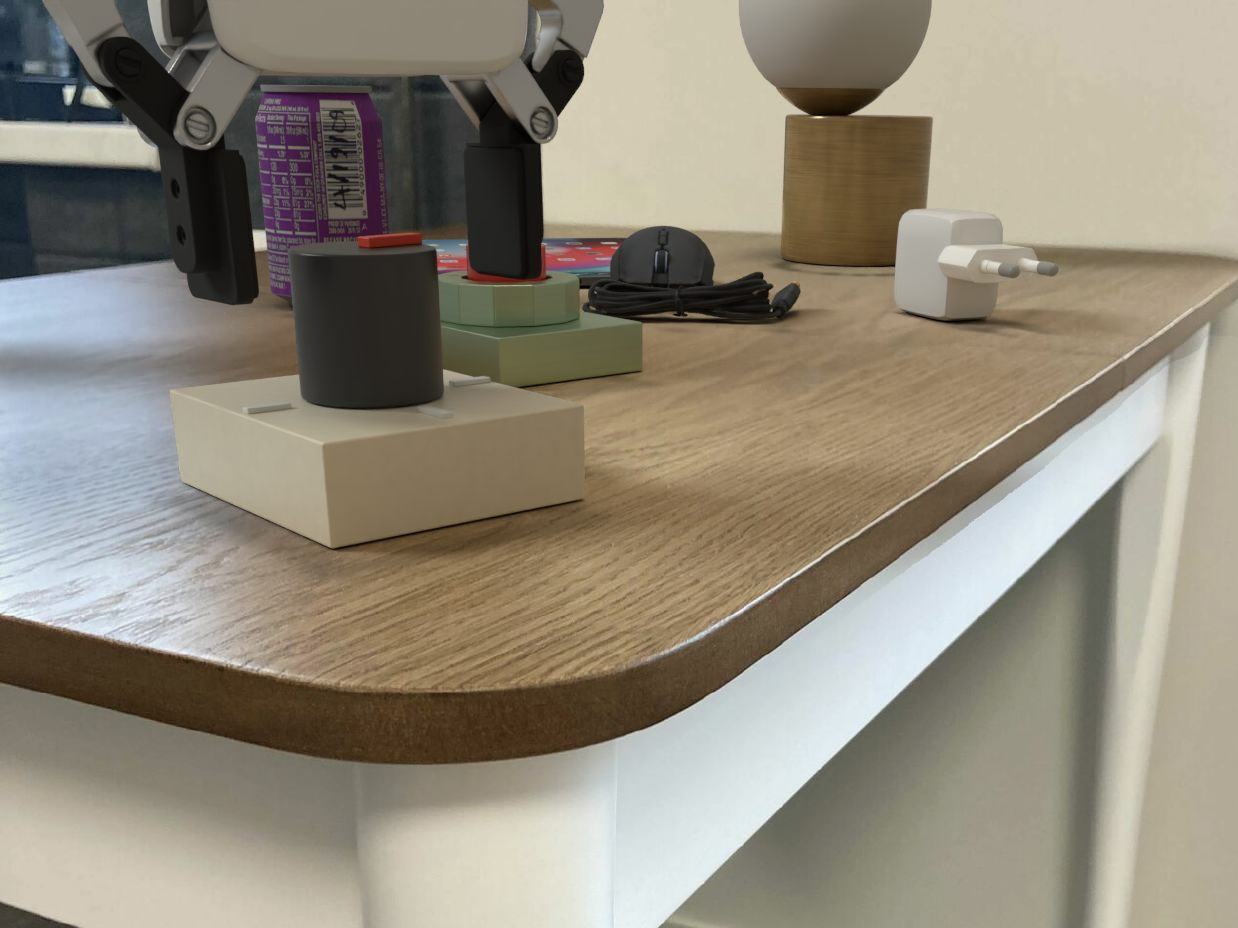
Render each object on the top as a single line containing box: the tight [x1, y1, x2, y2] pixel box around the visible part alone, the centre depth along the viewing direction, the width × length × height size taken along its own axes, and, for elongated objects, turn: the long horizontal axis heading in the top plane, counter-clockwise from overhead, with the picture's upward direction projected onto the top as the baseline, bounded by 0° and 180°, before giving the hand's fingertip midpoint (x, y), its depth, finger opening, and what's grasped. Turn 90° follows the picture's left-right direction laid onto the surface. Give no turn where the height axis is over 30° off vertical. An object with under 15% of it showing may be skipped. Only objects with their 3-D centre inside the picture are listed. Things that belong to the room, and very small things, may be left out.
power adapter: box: [893, 207, 1060, 322], centre depth 83 cm, size 11×5×6 cm, turn 25°
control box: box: [169, 369, 586, 549], centre depth 47 cm, size 10×9×3 cm
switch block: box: [438, 270, 643, 388], centre depth 69 cm, size 10×8×4 cm
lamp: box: [738, 0, 934, 267], centre depth 111 cm, size 15×14×25 cm
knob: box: [288, 232, 444, 408], centre depth 45 cm, size 4×4×5 cm
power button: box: [466, 244, 546, 282], centre depth 68 cm, size 4×4×2 cm
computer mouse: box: [581, 225, 802, 320], centre depth 89 cm, size 12×17×4 cm
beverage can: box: [254, 84, 390, 306], centre depth 86 cm, size 7×7×12 cm
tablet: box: [422, 237, 628, 286], centre depth 108 cm, size 19×25×1 cm
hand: (373, 287), depth 45 cm, fingers open, 9 cm apart
